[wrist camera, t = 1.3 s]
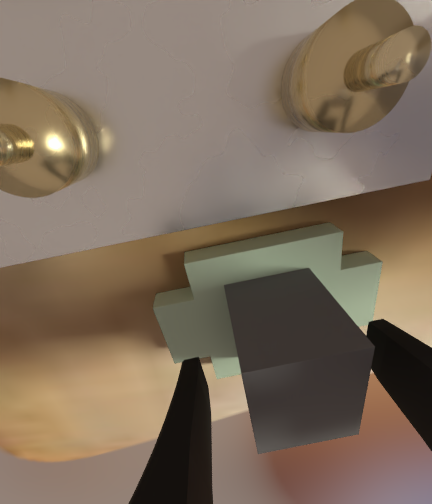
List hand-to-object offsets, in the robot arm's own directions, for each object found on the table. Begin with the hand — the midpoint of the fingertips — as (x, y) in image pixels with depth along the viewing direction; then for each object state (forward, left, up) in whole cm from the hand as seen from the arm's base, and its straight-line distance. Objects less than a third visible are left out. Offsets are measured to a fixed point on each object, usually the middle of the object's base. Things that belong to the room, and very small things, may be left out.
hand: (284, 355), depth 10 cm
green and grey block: (0, 0, -4) cm, 4 cm away
